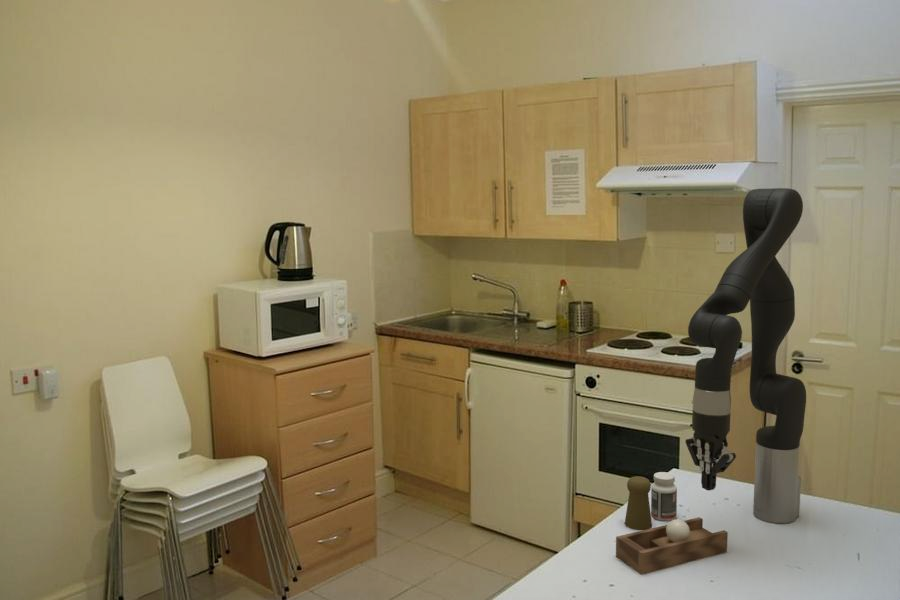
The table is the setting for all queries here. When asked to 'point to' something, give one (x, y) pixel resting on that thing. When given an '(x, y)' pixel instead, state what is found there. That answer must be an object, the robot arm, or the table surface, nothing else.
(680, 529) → the ball
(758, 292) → the robot arm
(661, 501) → the pill bottle
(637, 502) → the pepper mill
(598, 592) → the table surface
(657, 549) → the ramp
